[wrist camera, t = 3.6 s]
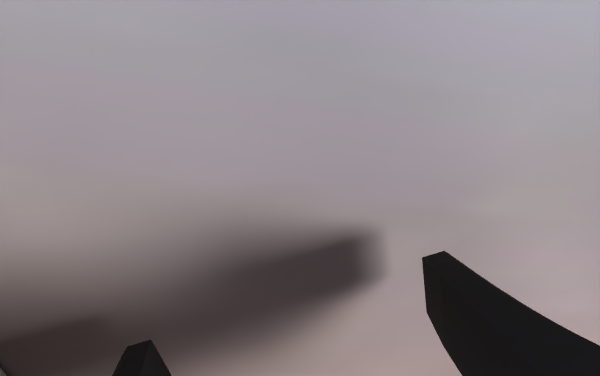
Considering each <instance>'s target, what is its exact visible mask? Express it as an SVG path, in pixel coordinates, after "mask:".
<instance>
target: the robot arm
mask: <svg viewBox="0 0 600 376" xmlns="http://www.w3.org/2000/svg"><path fill="white" fill-rule="evenodd" d="M422 262H423V274H424V286H425V298H426V310H427V314H428V316H429V318H430V320H431V322H432V324H433V326H434V328H435V330H436V332H437V334H438V336H439V338H440V340H441V342H442V344H443V346H444V348H445V349H446V351H447V352H448V354H449V356H450V357H451V359H452V360H453V362H454V363H455V365H456V366H457V368H458V370H459V371H460V373H461V374H462V376H600V346H599V345H597V344H595V343H593V342H591V341H589V340H587V339H585V338H583V337H581V336H579V335H577V334H575V333H573V332H571V331H570V330H568V329H566V328H564V327H562V326H560V325H558V324H557V323H555V322H553V321H551V320H550V319H548V318H546V317H544V316H543V315H541V314H539V313H537V312H536V311H534V310H532V309H531V308H529V307H527V306H526V305H524V304H522V303H521V302H519V301H518V300H516V299H515V298H513V297H511V296H510V295H508V294H507V293H505V292H504V291H502V290H500V289H499V288H497V287H496V286H494V285H493V284H491V283H490V282H488V281H487V280H486V279H484V278H483V277H481V276H480V275H478V274H477V273H475V272H474V271H472V270H471V269H470V268H468V267H467V266H465V265H464V264H463V263H461V262H460V261H458V260H457V259H456V258H454V257H453V256H451V255H450V254H449V253H447V252H445V251H442V252H439V253H436V254H432V255H429V256H426V257H423V258H422ZM112 376H171V374H170V372H169V370H168V369H167V367H166V365H165V363H164V362H163V360H162V358H161V356H160V354H159V353H158V351H157V349H156V347H155V346H154V344H153V342H152V340H148V341H144V342H141V343H138V344H134V345H131V346H128V347H127V348H126V350H125V351H124V353H123V355H122V357H121V359H120V361H119V363H118V365H117V367H116V369H115V371H114V373H113V375H112Z"/></svg>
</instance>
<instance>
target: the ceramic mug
mask: <svg viewBox="0 0 600 376" xmlns="http://www.w3.org/2000/svg"><path fill="white" fill-rule="evenodd" d="M0 376H6V374H5V373H4V371H3V370H2V369H1V368H0Z"/></svg>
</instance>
